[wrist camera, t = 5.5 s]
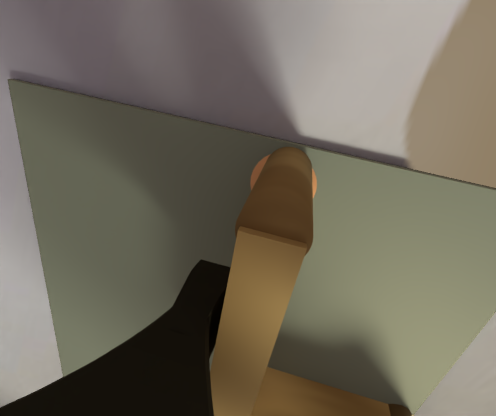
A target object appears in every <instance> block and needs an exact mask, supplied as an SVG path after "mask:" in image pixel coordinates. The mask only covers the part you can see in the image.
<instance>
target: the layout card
mask: <svg viewBox="0 0 496 416" xmlns="http://www.w3.org/2000/svg"><path fill="white" fill-rule="evenodd" d="M8 84H9V89H10V95H11V100H12V106H13V111H14V116H15V122H16V127H17V132H18V138H19V143H20V148H21V154H22V159H23V164H24V170H25V175H26V180H27V186H28V191H29V196H30V202H31V207H32V212H33V218H34V223H35V228H36V234H37V239H38V244H39V250H40V255H41V261H42V266H43V271H44V277H45V282H46V287H47V293H48V298H49V303H50V309H51V314H52V319H53V325H54V330H55V335H56V341H57V346H58V351H59V357H60V362H61V367H62V373H63V377H64V376H66V375H68V374H70V373H72V372H74V371H76V370H77V369H79V368H81V367H83V366H85V365H87V364H89V363H90V362H92V361H94V360H96V359H97V358H99V357H101V356H102V355H104V354H106V353H107V352H109V351H110V350H112V349H114V348H115V347H117V346H118V345H120V344H122V343H123V342H125V341H126V340H128V339H129V338H131V337H132V336H134V335H135V334H137V333H138V332H140V331H141V330H143V329H144V328H145V327H147V326H148V325H150V324H151V323H152V322H154V321H155V320H156V319H158V318H159V317H160V316H161V315H163V314H164V313H165V312H166V311H168V310H169V309H170V308H171V307H172V306H173V304H174V302H175V300H176V298H177V296H178V295H179V293H180V291H181V289H182V287H183V285H184V283H185V281H186V279H187V277H188V275H189V274H190V272H191V270H192V269H193V268H194V266H195V265H196V264H197V263H198V262H199V261H200V260H201V259H202V260H205V261H209V262H213V263H217V264H220V265H224V266H228V267H231V263H232V258H233V253H234V248H235V243H236V236H235V224H236V221H237V218H238V216H239V214H240V212H241V210H242V208H243V206H244V204H245V202H246V200H247V198H248V196H249V194H250V192H251V190H252V188H253V186H254V184H255V183H256V181H257V179H258V177H259V175H260V173H261V171H262V169H263V167H264V165H265V163H266V161H267V159H268V157H269V156H270V155H271V154H272V153H273V152H274V151H275V150H277V149H279V148H282V147H295V148H298V149H300V150H302V151H303V152H304V153H305V154H306V155H307V156H308V157H309V159H310V161H311V164H312V186H313V243H312V246H311V248H310V250H309V252H308V253H307V254H306V255H305V257H304V259H303V262H302V265H301V268H300V271H299V274H298V277H297V280H296V283H295V286H294V289H293V292H292V294H291V297H290V300H289V303H288V306H287V309H286V312H285V315H284V318H283V321H282V324H281V327H280V330H279V333H278V336H277V339H276V342H275V345H274V348H273V351H272V354H271V357H270V359H269V362H268V365H267V367H269V368H272V369H276V370H279V371H282V372H285V373H289V374H292V375H295V376H298V377H302V378H305V379H308V380H312V381H315V382H318V383H321V384H325V385H328V386H331V387H334V388H338V389H341V390H344V391H347V392H351V393H354V394H357V395H360V396H364V397H367V398H370V399H373V400H377V401H380V402H383V403H386V404H399V405H402V406H404V407H406V408H408V409H409V410H410V412H411V414H412V416H414V414H415V412H416V411H417V410H418V409H419V407H420V406H421V405H422V404H423V402H424V401H425V400H426V399H427V397H428V396H429V395H430V394H431V392H432V391H433V390H434V389H435V387H436V386H437V385H438V384H439V382H440V381H441V380H442V379H443V377H444V376H445V375H446V374H447V372H448V371H449V370H450V369H451V367H452V366H453V365H454V364H455V362H456V361H457V360H458V358H459V357H460V356H461V355H462V353H463V352H464V351H465V350H466V348H467V347H468V346H469V345H470V343H471V342H472V341H473V340H474V338H475V337H476V336H477V335H478V333H479V332H480V331H481V330H482V328H483V327H484V326H485V325H486V323H487V322H488V321H489V320H490V318H491V317H492V316H493V315H494V313H495V312H496V188H492V187H488V186H484V185H479V184H475V183H470V182H466V181H462V180H457V179H452V178H448V177H444V176H439V175H435V174H431V173H426V172H422V171H418V170H413V169H409V168H404V167H400V166H395V165H391V164H387V163H382V162H378V161H373V160H369V159H365V158H360V157H356V156H351V155H347V154H343V153H338V152H334V151H329V150H325V149H321V148H316V147H312V146H307V145H303V144H299V143H294V142H290V141H285V140H281V139H277V138H272V137H268V136H263V135H259V134H254V133H250V132H246V131H241V130H237V129H232V128H228V127H224V126H219V125H215V124H210V123H206V122H202V121H197V120H193V119H188V118H184V117H180V116H175V115H171V114H166V113H162V112H158V111H153V110H149V109H144V108H140V107H135V106H131V105H127V104H122V103H118V102H113V101H109V100H105V99H100V98H96V97H91V96H87V95H83V94H78V93H74V92H69V91H65V90H61V89H56V88H52V87H47V86H43V85H39V84H34V83H30V82H25V81H21V80H16V79H8ZM214 349H215V347H214ZM214 349H213V352H212V354H211V356H210V359H209V363H210V370H211V365H212V360H213V355H214Z"/></svg>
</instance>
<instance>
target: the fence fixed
mask: <svg viewBox="0 0 496 416" xmlns="http://www.w3.org/2000/svg"><path fill="white" fill-rule="evenodd" d="M251 416H412V414H411V412H410V410H409V409H408V408H406V407H404V406H402V405H399V404H386V403H383V402H380V401H377V400H373V399H370V398H367V397H364V396H360V395H357V394H354V393H351V392H347V391H344V390H341V389H338V388H334V387H331V386H328V385H325V384H321V383H318V382H315V381H312V380H308V379H305V378H302V377H298V376H295V375H292V374H289V373H285V372H282V371H279V370H276V369H272V368H269V367H267V368H266V371H265V374H264V377H263V380H262V383H261V386H260V389H259V392H258V395H257V398H256V401H255V404H254V407H253V410H252V413H251Z"/></svg>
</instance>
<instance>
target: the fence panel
mask: <svg viewBox="0 0 496 416" xmlns="http://www.w3.org/2000/svg"><path fill="white" fill-rule="evenodd" d="M235 236H236V243H235V248H234V253H233V258H232V263H231V268H230V273H229V278H228V283H227V289H226V294H225V299H224V304H223V309H222V314H221V319H220V324H219V329H218V334H217V339H216V344H215V349H214V355H213V360H212V365H211V370H210V380H211V392H212V401H213V411H214V416H251V413H252V410H253V407H254V404H255V401H256V398H257V395H258V392H259V389H260V386H261V383H262V380H263V377H264V374H265V371H266V368H267V365H268V362H269V359H270V357H271V354H272V351H273V348H274V345H275V342H276V339H277V336H278V333H279V330H280V327H281V324H282V321H283V318H284V315H285V312H286V309H287V306H288V303H289V300H290V297H291V294H292V292H293V289H294V286H295V283H296V280H297V277H298V274H299V271H300V268H301V265H302V262H303V259H304V257H305V255H306V254H307V253H308V252H309V250H310V248H311V246H312V243H313V186H312V164H311V161H310V159H309V157H308V156H307V155H306V154H305V153H304V152H303V151H302V150H300V149H298V148H295V147H282V148H279V149H277V150H275V151H274V152H273V153H272V154H271V155H270V156H269V157H268V159H267V161H266V163H265V165H264V167H263V169H262V171H261V173H260V175H259V177H258V179H257V181H256V183H255V184H254V186H253V188H252V190H251V192H250V194H249V196H248V198H247V200H246V202H245V204H244V206H243V208H242V210H241V212H240V214H239V216H238V218H237V221H236V224H235Z"/></svg>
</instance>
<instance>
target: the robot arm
mask: <svg viewBox="0 0 496 416" xmlns="http://www.w3.org/2000/svg"><path fill="white" fill-rule="evenodd" d="M230 268H231V267H228V266H224V265H220V264H217V263H213V262H209V261H205V260H202V259H201V260H200V261H199V262H198V263H197V264H196V265H195V266H194V268H193V269H192V270H191V272H190V274H189V275H188V277H187V279H186V281H185V283H184V285H183V287H182V289H181V291H180V293H179V295H178V296H177V298H176V300H175V302H174V304H173V306H172V307H171V308H170V309H169V310H168V311H166V312H165V313H164V314H163V315H161V316H160V317H159V318H158V319H156V320H155V321H154V322H152V323H151V324H150V325H148V326H147V327H145V328H144V329H143V330H141V331H140V332H138V333H137V334H135V335H134V336H132V337H131V338H129V339H128V340H126V341H125V342H123V343H122V344H120V345H118V346H117V347H115V348H114V349H112V350H110V351H109V352H107V353H106V354H104V355H102V356H101V357H99V358H97V359H96V360H94V361H92V362H90V363H89V364H87V365H85V366H83V367H81V368H79V369H77V370H76V371H74V372H72V373H70V374H68V375H66V376H64V377H62V378H60V379H59V380H57V381H55V382H53V383H51V384H49V385H47V386H45V387H43V388H41V389H39V390H37V391H35V392H33V393H31V394H29V395H27V396H25V397H22V398H20V399H18V400H16V401H14V402H11V403H9V404H7V405H5V406H3V407H1V408H0V416H214V411H213V401H212V392H211V380H210V363H209V359H210V356H211V354H212V352H213V349H214V347H215V344H216V339H217V334H218V329H219V324H220V319H221V314H222V309H223V304H224V299H225V294H226V289H227V283H228V278H229V273H230Z"/></svg>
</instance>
